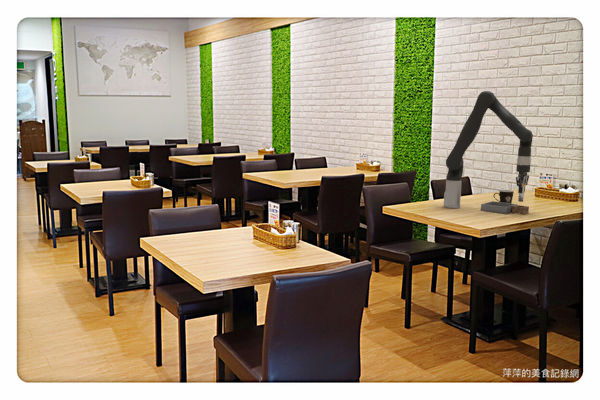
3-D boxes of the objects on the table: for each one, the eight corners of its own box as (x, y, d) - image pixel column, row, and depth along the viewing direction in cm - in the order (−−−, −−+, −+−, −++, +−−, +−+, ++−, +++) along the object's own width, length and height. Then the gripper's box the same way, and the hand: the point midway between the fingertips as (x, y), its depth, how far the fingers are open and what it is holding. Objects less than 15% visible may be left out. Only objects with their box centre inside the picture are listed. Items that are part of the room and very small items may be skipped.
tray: (480, 210, 335) (481, 204, 334) (492, 207, 345) (492, 201, 344) (506, 214, 324) (506, 207, 323) (517, 210, 334) (517, 204, 333)
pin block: (511, 213, 327) (512, 206, 326) (516, 211, 332) (517, 205, 331) (523, 214, 322) (524, 207, 321) (528, 213, 327) (528, 206, 326)
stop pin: (517, 201, 326) (518, 184, 324) (519, 200, 328) (520, 183, 326) (522, 201, 324) (523, 184, 322) (524, 201, 326) (525, 184, 324)
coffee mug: (513, 205, 351) (514, 190, 349) (512, 208, 343) (513, 192, 341) (494, 204, 356) (494, 189, 354) (492, 206, 348) (493, 191, 346)
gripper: (522, 162, 329) (520, 190, 332) (512, 164, 320) (510, 193, 322) (534, 163, 324) (532, 192, 327) (525, 165, 314) (522, 194, 317)
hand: (521, 192), depth 325 cm, fingers closed on stop pin, 3 cm apart
